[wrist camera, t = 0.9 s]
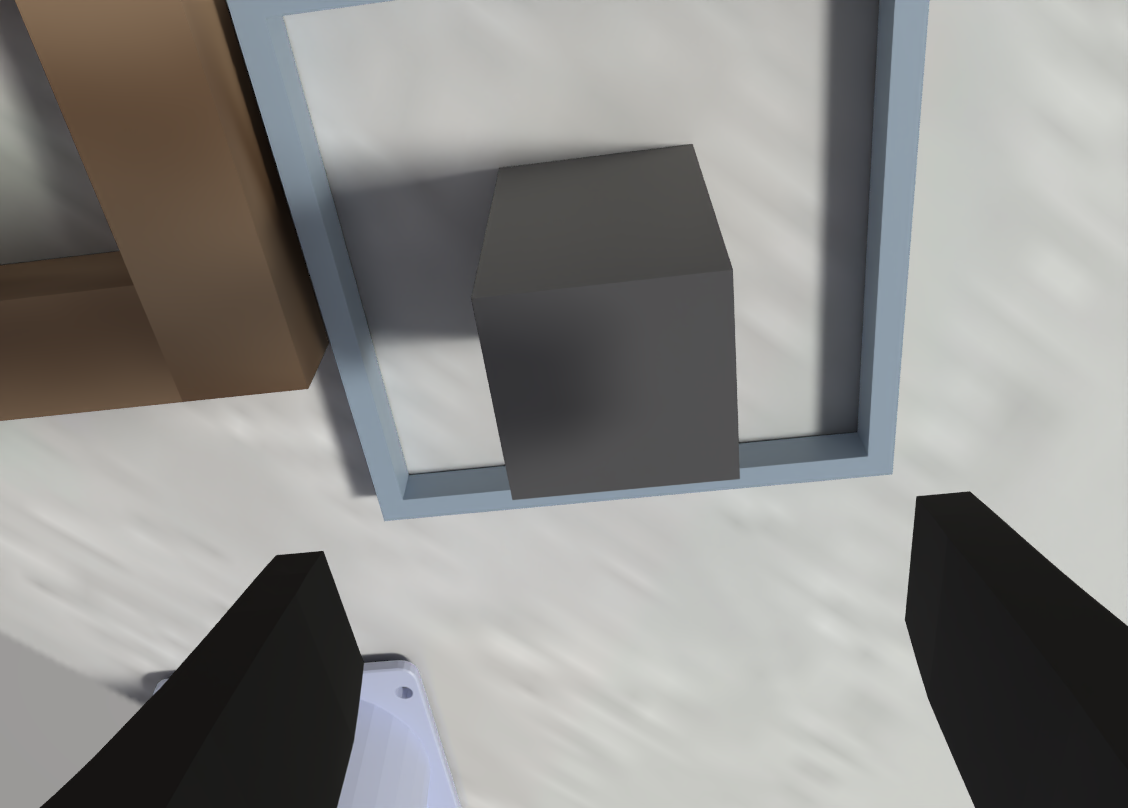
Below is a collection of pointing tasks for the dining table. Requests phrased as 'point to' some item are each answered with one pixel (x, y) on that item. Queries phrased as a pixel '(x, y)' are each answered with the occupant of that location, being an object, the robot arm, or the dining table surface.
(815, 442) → the frame
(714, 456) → the plug
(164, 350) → the socket block
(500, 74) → the dining table surface
